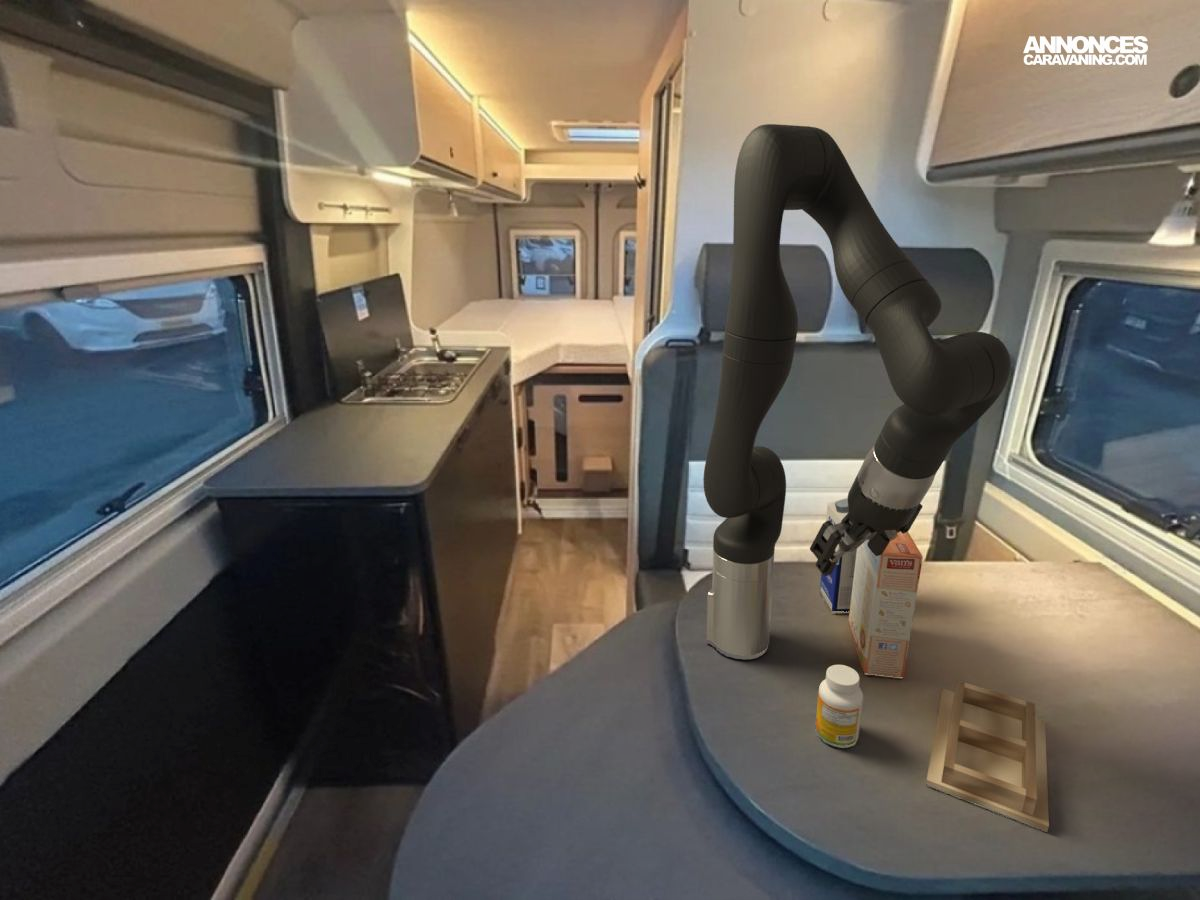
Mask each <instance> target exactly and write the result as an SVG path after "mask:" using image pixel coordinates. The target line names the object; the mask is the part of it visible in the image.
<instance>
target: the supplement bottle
mask: <svg viewBox="0 0 1200 900" xmlns="http://www.w3.org/2000/svg"><path fill="white" fill-rule="evenodd" d="M825 673H826V674H825V679H823V680H822V681H821V683H820V684H819V686H818V687H819V688H818V694H817V703H816V706H817V707H816V715H815V725H816V729H815V731H816V730H817V732H818V733H819V735H820V736H821V737H822V738H824V739H825V740H826V741H828V742H830V743H833V744H836V745H841V746H842V745H843V746H845V745H850V744H853V743H854V742H856V741H857V739H858V740H859V737H860V736H859V735H860V726H861V719H862V712H863V704H864V703H863V702H864V694H863V692H862V688H860V675H859V673H858V672H857V671H856V670H855V669H854V668H852V667H850V666H847V665H844V664H833V665H830V666H829V667H828V668H827V669H826V672H825ZM857 742H858V741H857Z"/></svg>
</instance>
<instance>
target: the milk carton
mask: <svg viewBox="0 0 1200 900" xmlns="http://www.w3.org/2000/svg"><path fill="white" fill-rule="evenodd" d="M848 512H849V508H848V497H845V498H842V499H838V500H835V501H832V502H831V501H830V502H828V503H827V507H826V520H825V522H826V521H831V523H832V524H833V525H836V524H839V523H841V521H842V519H843V518H844V517H845V516H846V515H847V514H848ZM842 536H843V537H844V539H845V540H846V541H847V542H848V543H849V545H850V544H851V543H852V542H853V540H852V539H851V538H850V537H849V536H848V534H847V533H846V532H845V533H843V534H842ZM839 549H840V545H839V544H838V545H837V547H836V549H835V550H834V551H835V552H837V551H838V550H839ZM856 554H857V549H856V550H855V551H853V552H852V553H848V552H846V553H845V554H844V555H843V556H842V557H841V558H839V559H838V562H837V564H836V566H835V568H834V569H833V571H832V573H831V574H830V575H828V576H824V575H823V574H822V573H821V572H820V574H821V575H820V585H819V591H820V590H821V592H822V594H823V596H824V597H825V599H826V601H827V603H828V604H829V606H830V608H831V609H832V611H844V612H846V611H847V612H848V611H849V612H850V603H851V595H852V587H853V579H854V570H855V562H856Z"/></svg>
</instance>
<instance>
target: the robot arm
mask: <svg viewBox="0 0 1200 900" xmlns="http://www.w3.org/2000/svg"><path fill="white" fill-rule="evenodd" d="M736 160H737V161H736V167H735V173H734V182H733V183H734V188H733V190H734V191H733V238H732V239H733V245H732V246H733V247H732V249H733V250H732V252H733V253H732V264H731V265H732V267H731V275H730V287H729V288H730V289H729V300H728V307H727V308H728V309H727V317H726V323H725V329H724V338H723V347H722V359H721V371H720V373H721V374H720V382H719V388H718V396H717V404H716V410H715V416H714V420H713V421H714V422H713V427H712V430H711V431H712V433H711V436H710V440H709V445H708V449H707V455H706V459H705V464H704V469H703V478H702V479H703V491H704V496H705V500H706V502H707V503H708V506H709V508H710V509H711V510H712V512H713V513H714V514H715V515H717V516H719V517H721V518H725V519H724V520H723V521H722V522H721V523H720V524H719V525H718V526H717V528H716V529H715V530H714V533H713V539H712V540H713V542H712V543H713V544H712V551H713V552H712V583H711V585H712V587H711V588H710V589H709V591H708V592H707V598H706V599H707V600H706V601H707V602H706V639H707V640H710V641H712V642H713V643H714V644H715V645H716V646H717V647H718V648H720V649H721V650H723V651H725V652H727V653H730V654H734V655H741V656H747V655H749V656H750V655H755V654H757V653H760V652H762V651H763V650H765V649H766V648H767V646H768V644H769V645H770V639H771V638H770V637H771V635H770V633H771V631H770V630H771V616H772V600H773V599H772V598H773V583H774V582H773V581H774V568H775V567H774V565H775V564H774V563H775V551H776V550H775V548H776V544H777V542H778V541H779V538H780V536H781V533H782V528H783V519H784V512H785V504H786V495H787V476H786V472H785V468H784V466H783V463H782V461H781V459H780V458H779V456H778V455H777V454H776V453H775V452H774V451H773V450H772V449H770V448H769V447H765V446H762V445H761V446H760V445H757V446H755V442H756V438H757V435H758V432H759V430H760V427H761V424H763V421H764V419H765V418H766V416H767V414H768V412H769V411H770V409H771V407H772V406H773V404H774V402H775V401H776V400H777V398H778V397H779V394H780V393H781V391H782V389H783V388H784V385H785V384H786V381H787V379H788V377H789V375H790V374H791V373H790V372H791V370H792V364H793V361H794V354H795V349H796V341H797V336H798V328H799V316H798V311H797V307H796V304H795V300H794V298H793V297H794V296H793V295H792V292H791V289H790V287H789V284H788V282H787V279H786V276H785V273H784V270H783V267H782V261H781V249H780V248H781V244H780V243H781V236H782V235H781V234H782V225H783V217H784V213H785V211H799V210H802V211H803V212H804V213H806V214H807V215H808V216H810V217H811V218H812V219H813V220H814V221H815V222H816V223H817V224H818V225H819V226H820V227H821V228H822V230H823V231H824V233H825V234H826V236H827V238H828V239H829V242H830V245H831V249H832V256H833V263H834V272H835V276H836V279H837V282H838V284H839V286H840V289H841V291H842V293H843V295H844V296H845V298H846V299H847V301H848V302H849V304H850V306H852V308H853V309H854V310H855V312H856V313H857V315H858V316H859V317H860V319H862V321H863V323H864V324H865V325H866V326H867V328H868V329H869V330H870V331H871V333H872V334H873V336H874V339H875V342H876V345H877V349H878V352H879V354H880V357H881V359H882V363H883V364H884V365H883V366H884V367H885V372H886V373H887V376H888V379H889V383H890V384H891V387H892V389H893V392H894V393H895V394H896V396H897V397H898V399H899V400H900V401H901V402H902V403H903V404H902V405H900V406H898V407H897V408H895V409H894V410H893V411H892V412H891V414H890V415H889V416H888V417H887V418H886V421H885V422H884V425H883V426H882V429H881V430H880V433H879V435H878V437H877V439H876V441H875V443H874V445H873V446H872V448H871V449H870V450H869V452H868V453H867V454H866V456H865V458H864V460H863V462H862V464H861V466H860V468H859V470H858V472H857V475H856V477H855V478H854V481H853V482H852V485H851V487H850V489H849V491H848V495H847V498H848V508H849V512H848V514H847V515H846V516H845V517H844V518H843V519H842V521H841V523H839V524H836V525H833V524H832V523H831V521H826V520H825V522H823V523H822V525H821V526H820V528H819V530H818V531H817V534H816V536H815V538H814V539H813V542H812V544H811V545H810V547H809V550H810V552H811V553H812V554H813V555H814V557H815V558H816V559H817V560H816V562H815V566H816V568H817V569H818V570H819V572H820V574H821V573H822V574H823V575H824V576H828V575H830V574H831V573H832V571H833V569H834V568H835V566H836V564H837V562H838V559H839V558H841V557H842V556H843V555H844V554H845V553H846V552H848V553H852V552H853V551H855V550H856V549H857V548H858V547H859V546H860V545H862V544H863V543H864V542H865V541H866V540H869V542H868V544H867V545H868V548H869V549H870V550H871V551H872V552H873V554H874V555H875V556H879V555H882V554H883V552H884V550H885V549H886V547H887V545H888V544H889V542H890V540H894V539H895V538H896V537H897V536H898V535H897V533H898V532H900V531H901V532H902V533H903V534H904V533H906V532H909V531H910V530H911V527H912V526H913V525H914V522H915V521H916V520H917V517H918V515H919V513H920V512H921V511H922V509H923V504H921V503H922V501H923V500H924V498H925V496H926V494H927V493H928V492H929V490H930V488H931V487H932V484H933V482H934V480H935V477H936V474H937V472H938V471H939V469H940V467H941V466H942V464H943V463H944V462H945V460H946V459H947V456H948V455H949V453H950V451H951V449H952V448H953V446H954V445H955V444H956V442H957V441H958V440H959V439H960V438H961V437H962V436H963V435H964V434H965V433H966V432H968V431H969V430H970V429H971V428H972V427H973V426H974V424H976V423H977V422H978V420H980V418H981V417H982V416H983V415H984V414H985V413H986V412H987V411H988V410H989V409H990V408H991V407H992V406H993V405H994V404H995V403H996V401H997V399H998V398H999V397H1000V396H1001V394H1002V393H1003V391H1004V389H1005V388H1006V386H1007V383H1008V381H1009V378H1010V373H1011V367H1012V366H1011V355H1010V353H1009V350H1008V349H1007V346H1006V345H1005V344H1004V343H1003V341H1001V339H999V337H997V336H995V335H993V334H991V333H987V332H984V331H983V332H982V331H968V332H964V333H960V334H956V335H952V336H949V337H946V338H942V339H939V340H936V339H935V338H934V337H933V336H932V334H931V332H930V331H929V327H930V326H931V325H932V324H933V322H935V320H936V319H937V317H939V316H940V315H939V314H940V312H941V310H942V301H941V297H940V296H939V294H938V293H937V291H936V289H934V286H932V285H931V284H930V282H929V281H928V280H927V278H925V276H924V275H923V273H922V272H920V270H919V269H918V267H917V266H916V265H915V264H914V263H913V261H911V259H910V258H909V257H908V255H906V253H905V252H904V251H903V250H902V249H901V248H900V247H901V246H899V245H898V244H897V242H896V241H895V240H894V238H893V237H892V235H891V234H890V233H889V231H888V230H887V228H886V227H885V226H884V224H883V223H882V221H881V219H880V217H879V216H878V215H877V214H878V213H876V212H875V210H874V208H873V206H872V204H871V202H870V201H869V199H868V198H867V195H866V194H865V192H864V190H863V189H862V187H861V185H860V183H859V181H858V180H857V177H856V176H855V174H854V172H853V170H852V168H851V166H850V165H849V162H848V160H847V159H846V156H845V154H844V153H843V152H842V149H841V148H840V146H839V145H838V144H837V142H836V141H835V138H833V137H832V135H830V133H828V132H827V131H826V130H823V129H821V128H819V127H815V126H809V125H792V124H779V123H778V124H774V123H771V124H769V123H766V124H760V125H758V126H757V127H755V128H754V129H752V130H751V131H750V132H749V134H748V135H747V136H746V137H745V139H744V141H743V142H742V145H741V148H740V150H739V153H738V157H737V159H736ZM845 532H846V533H847V534H848V536H849V537H850V538H851V539H852V540H853V542H852V543H851V544H850V545H849V543H848V542H847V541H846V540H845V539H844V537H843V536H842V534H843V533H845ZM838 544H839V545H840V549H839V550H838V551H837V552H835V551H834V550H835V549H836V547H837V545H838Z"/></svg>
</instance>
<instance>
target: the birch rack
mask: <svg viewBox="0 0 1200 900" xmlns="http://www.w3.org/2000/svg"><path fill="white" fill-rule="evenodd" d="M936 723H937V724H936V725H935V730H934V736H933V741H932V748H931V751H930V753H931V754H930V759H929V765H928V768H927V769H928V770H927V776H926V781H925V785H926V784H928V785H931V786H933V787H936V788H938V789H940V790H942V791H944V792H947V793H950V794H952V795H955V796H958V797H960V798H962V799H964V800H967V801H970V802H973V803H976V804H979V805H982V806H984V807H987V808H990V809H992V810H995V811H998V812H1000V813H1002V814H1004V815H1008V816H1010V817H1012V818H1014V819H1018V820H1020V821H1022V822H1025V823H1028V824H1030V825H1032V826H1035V827H1037V828H1039V829H1042V830H1044V831H1046V832H1047V833H1048V831H1049V828H1050V823H1049V819H1050V818H1049V799H1048V798H1049V796H1048V795H1049V794H1048V768H1047V764H1048V763H1047V744H1046V742H1047V741H1046V739H1047V738H1046V720H1044V719H1041V718H1038V717H1036V704H1035V703H1034V702H1031V701H1027V700H1025V699H1022V698H1017V697H1014V696H1010V695H1007V694H1004V693H1000V692H997V691H995V690H991V689H987V688H984V687H981V686H977V685H974V684H970V683H967V682H965V681H964V682H963V681H961V680H956V683H955V688H954V691H950V690H947V689H944V688H942V690H941V697H940V701H939V707H938V713H937V719H936Z"/></svg>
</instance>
